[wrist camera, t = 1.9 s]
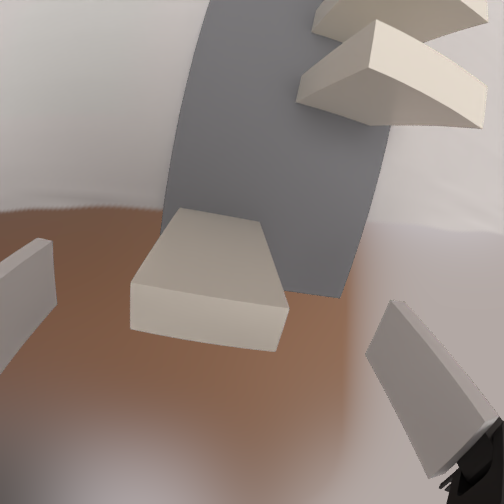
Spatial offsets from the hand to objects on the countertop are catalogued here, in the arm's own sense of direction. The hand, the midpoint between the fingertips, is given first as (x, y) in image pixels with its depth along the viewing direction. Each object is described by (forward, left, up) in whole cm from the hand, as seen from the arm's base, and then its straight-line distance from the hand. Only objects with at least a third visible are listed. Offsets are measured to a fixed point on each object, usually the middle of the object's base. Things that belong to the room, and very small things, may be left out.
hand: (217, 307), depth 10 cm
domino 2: (+5, +15, -9) cm, 18 cm away
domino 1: (0, 0, -9) cm, 9 cm away
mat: (+3, +14, -9) cm, 17 cm away
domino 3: (+5, +10, -9) cm, 14 cm away
